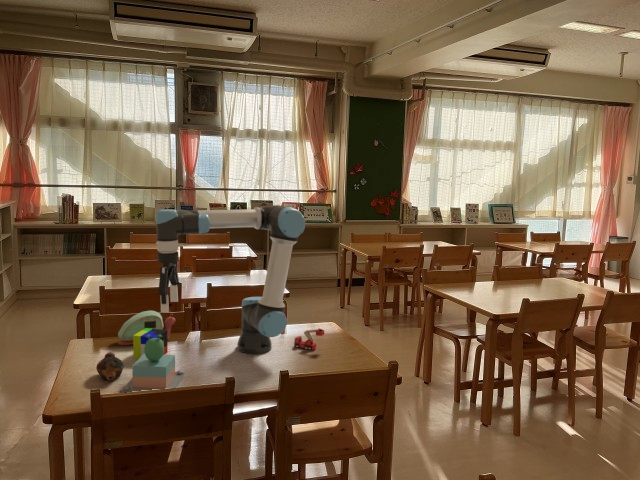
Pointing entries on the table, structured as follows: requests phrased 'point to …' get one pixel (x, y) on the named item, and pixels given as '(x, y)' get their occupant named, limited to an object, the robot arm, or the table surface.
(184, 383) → the table surface
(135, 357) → the puzzle toy
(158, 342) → the alien toy
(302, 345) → the toy fire truck
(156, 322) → the toy snail
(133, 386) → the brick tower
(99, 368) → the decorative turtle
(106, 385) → the table surface
